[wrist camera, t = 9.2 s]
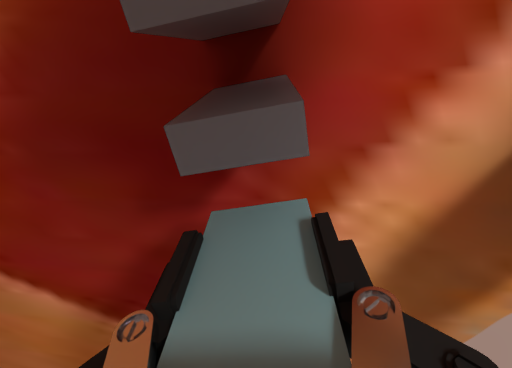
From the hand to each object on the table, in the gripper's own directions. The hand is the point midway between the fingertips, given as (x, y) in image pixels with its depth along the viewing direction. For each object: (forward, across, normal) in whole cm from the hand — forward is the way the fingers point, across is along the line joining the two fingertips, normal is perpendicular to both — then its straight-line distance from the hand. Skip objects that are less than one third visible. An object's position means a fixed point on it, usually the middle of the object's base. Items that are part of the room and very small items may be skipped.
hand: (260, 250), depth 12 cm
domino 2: (+10, 0, -5) cm, 11 cm away
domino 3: (+2, 0, 0) cm, 2 cm away
